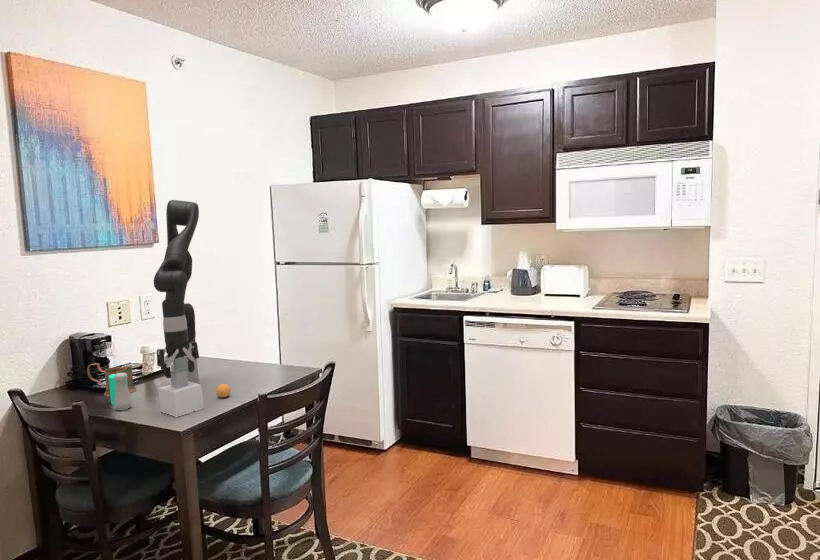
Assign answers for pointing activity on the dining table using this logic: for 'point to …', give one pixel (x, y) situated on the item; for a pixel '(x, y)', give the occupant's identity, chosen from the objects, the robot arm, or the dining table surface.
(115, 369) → the mug
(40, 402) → the dining table surface
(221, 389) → the ball
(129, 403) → the salt shaker
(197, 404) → the white block with knob
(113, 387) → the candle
